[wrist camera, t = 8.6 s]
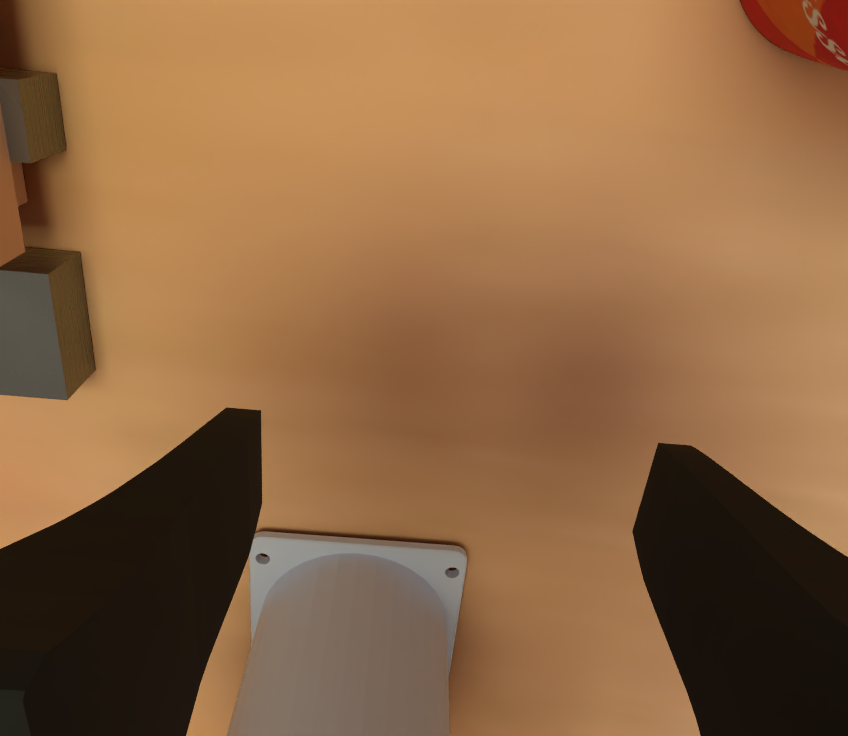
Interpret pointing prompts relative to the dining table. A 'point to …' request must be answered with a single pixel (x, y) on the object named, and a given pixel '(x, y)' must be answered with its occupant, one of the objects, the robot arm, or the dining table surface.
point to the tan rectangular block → (10, 202)
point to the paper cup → (804, 27)
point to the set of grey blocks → (40, 264)
